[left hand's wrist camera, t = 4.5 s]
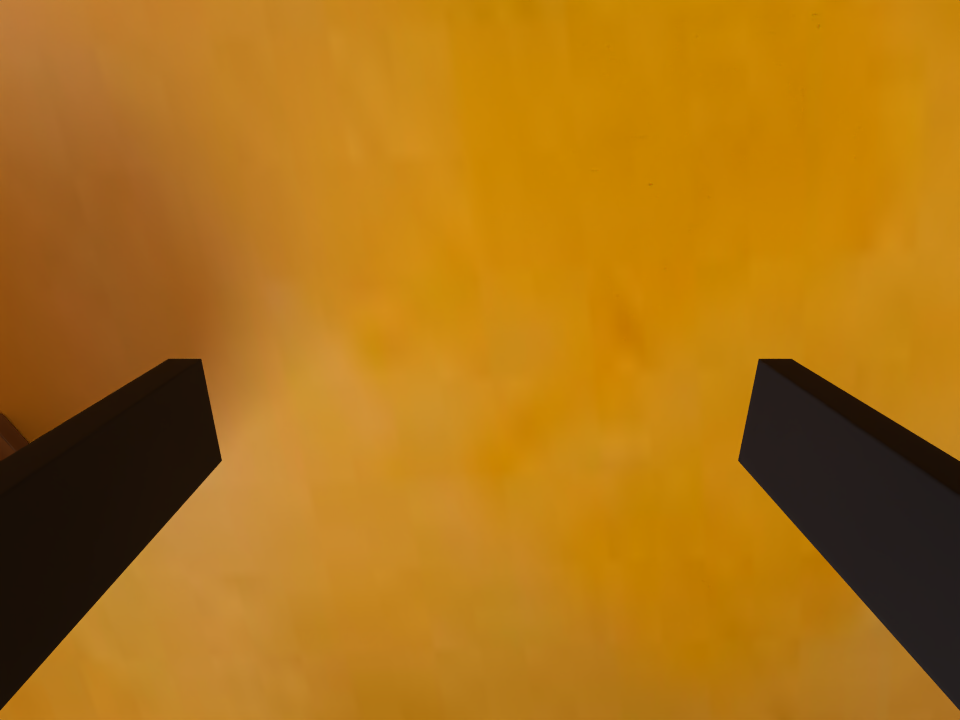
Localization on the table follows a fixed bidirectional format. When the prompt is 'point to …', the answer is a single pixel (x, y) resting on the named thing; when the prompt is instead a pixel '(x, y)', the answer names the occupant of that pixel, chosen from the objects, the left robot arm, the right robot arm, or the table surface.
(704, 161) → the table surface
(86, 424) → the left robot arm
